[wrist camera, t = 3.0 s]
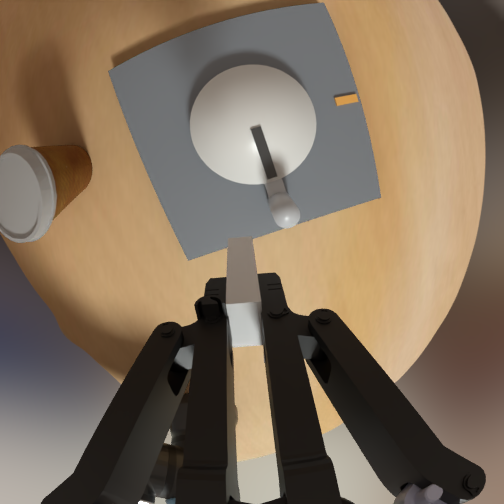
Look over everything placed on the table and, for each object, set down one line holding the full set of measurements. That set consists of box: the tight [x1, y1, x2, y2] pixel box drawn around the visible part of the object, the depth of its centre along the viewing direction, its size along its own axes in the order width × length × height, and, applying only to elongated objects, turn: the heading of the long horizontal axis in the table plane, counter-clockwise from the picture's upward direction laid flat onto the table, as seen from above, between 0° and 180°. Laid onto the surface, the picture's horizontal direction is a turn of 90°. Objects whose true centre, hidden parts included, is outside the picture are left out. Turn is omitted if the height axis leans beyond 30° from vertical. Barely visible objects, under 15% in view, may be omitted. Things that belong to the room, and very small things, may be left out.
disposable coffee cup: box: [0, 145, 92, 243], centre depth 22 cm, size 10×10×12 cm
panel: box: [108, 3, 381, 261], centre depth 26 cm, size 24×24×2 cm
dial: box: [190, 65, 316, 228], centre depth 24 cm, size 16×12×5 cm
